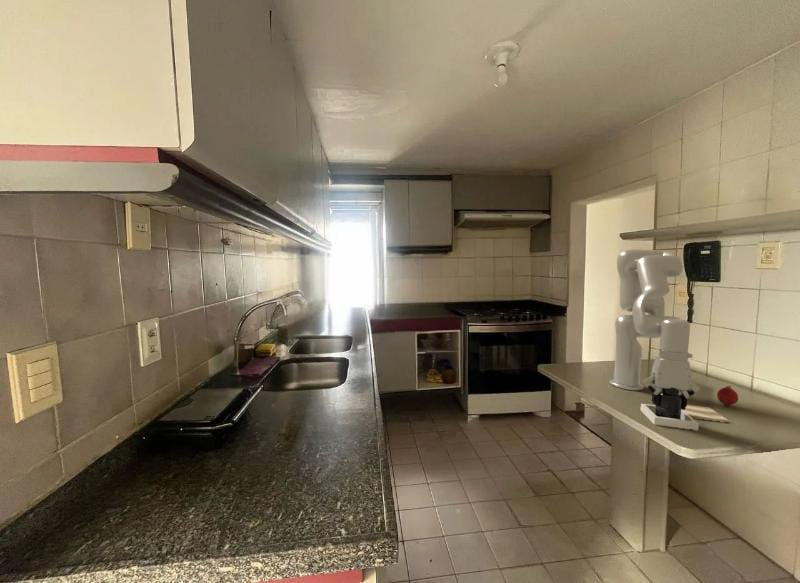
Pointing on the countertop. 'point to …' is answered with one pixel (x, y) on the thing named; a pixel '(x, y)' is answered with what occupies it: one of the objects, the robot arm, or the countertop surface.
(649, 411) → the white square frame
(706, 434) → the countertop surface
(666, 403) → the supplement bottle
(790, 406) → the countertop surface
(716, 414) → the board
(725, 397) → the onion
